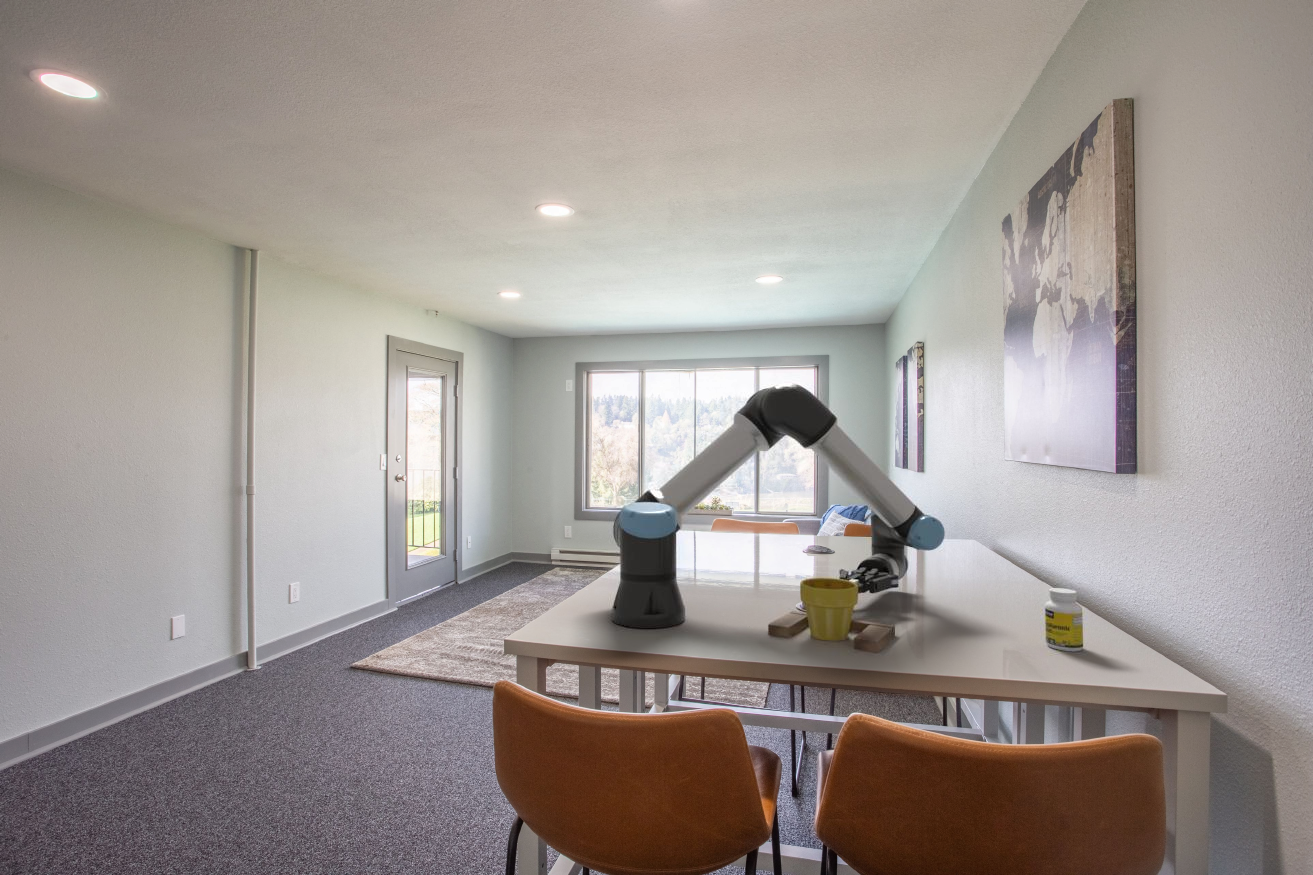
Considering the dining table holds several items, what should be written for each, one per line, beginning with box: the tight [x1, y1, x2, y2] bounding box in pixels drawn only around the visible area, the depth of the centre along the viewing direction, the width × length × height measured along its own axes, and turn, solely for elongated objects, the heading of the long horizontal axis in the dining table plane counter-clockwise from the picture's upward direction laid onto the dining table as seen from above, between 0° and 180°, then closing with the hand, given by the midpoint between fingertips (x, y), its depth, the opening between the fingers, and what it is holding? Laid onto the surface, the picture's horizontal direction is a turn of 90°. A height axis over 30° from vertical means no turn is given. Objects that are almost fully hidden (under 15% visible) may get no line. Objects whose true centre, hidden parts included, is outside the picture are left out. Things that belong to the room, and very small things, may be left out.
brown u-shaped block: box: [767, 610, 896, 653], centre depth 115 cm, size 20×12×2 cm, turn 56°
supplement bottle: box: [1044, 587, 1084, 653], centre depth 106 cm, size 5×5×10 cm
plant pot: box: [799, 577, 859, 642], centre depth 114 cm, size 10×10×10 cm
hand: (845, 591), depth 121 cm, fingers closed
